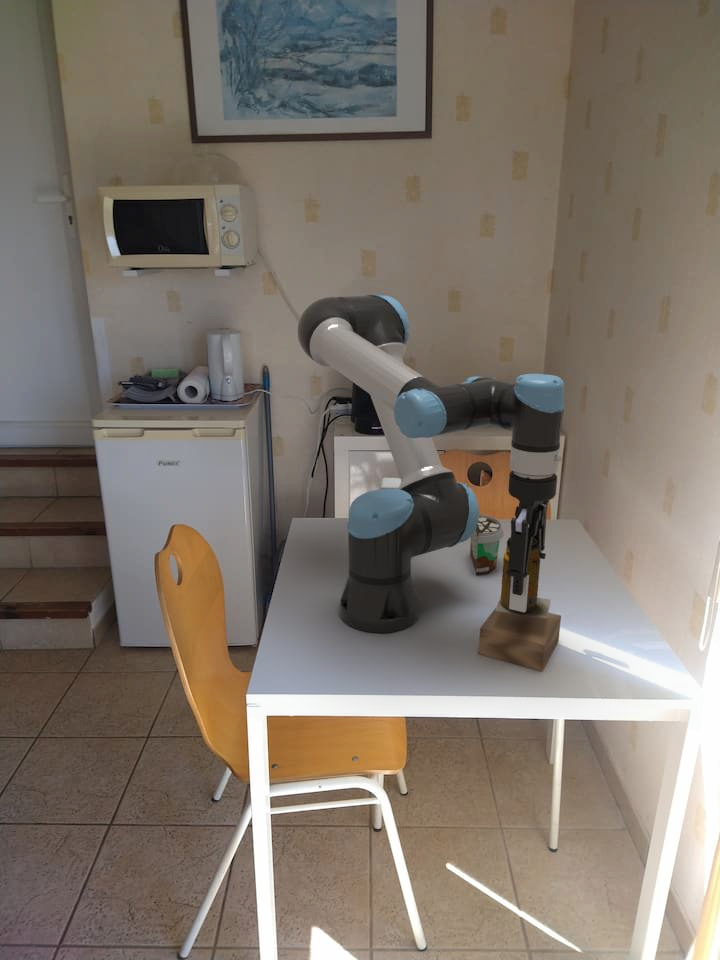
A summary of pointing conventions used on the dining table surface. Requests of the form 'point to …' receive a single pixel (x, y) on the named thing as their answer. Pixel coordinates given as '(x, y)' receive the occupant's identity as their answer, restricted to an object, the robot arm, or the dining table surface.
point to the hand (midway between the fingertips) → (523, 601)
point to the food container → (485, 544)
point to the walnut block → (520, 638)
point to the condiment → (534, 604)
